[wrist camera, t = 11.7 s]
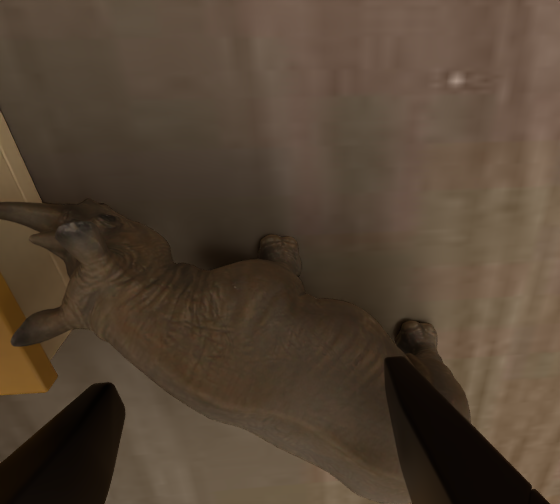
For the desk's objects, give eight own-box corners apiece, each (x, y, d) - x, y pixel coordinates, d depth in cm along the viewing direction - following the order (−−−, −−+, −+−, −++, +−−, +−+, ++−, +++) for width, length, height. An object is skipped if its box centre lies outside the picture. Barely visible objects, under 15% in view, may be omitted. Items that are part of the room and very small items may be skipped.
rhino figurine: (73, 100, 11) (-116, 145, 6) (455, 319, 14) (565, 480, 9) (26, 221, 13) (-159, 349, 7) (382, 395, 16) (440, 573, 11)
